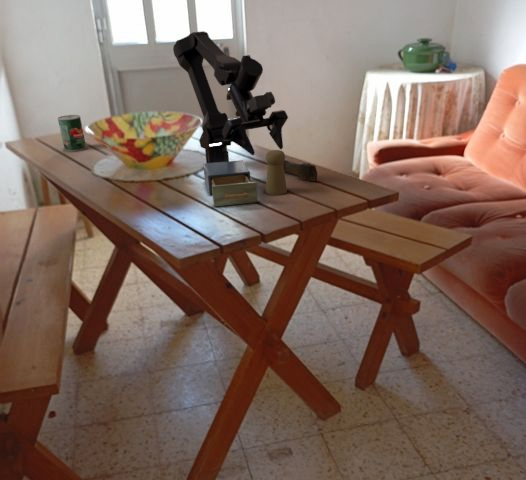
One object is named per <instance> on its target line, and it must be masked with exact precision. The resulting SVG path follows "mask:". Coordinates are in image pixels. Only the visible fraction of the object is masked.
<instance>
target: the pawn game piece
mask: <svg viewBox="0 0 526 480" xmlns="http://www.w3.org/2000/svg"><path fill="white" fill-rule="evenodd" d="M285 159H286V154H285V152H284V151H283V150H282V149H271V150H268V151H267V152H266V154H265V161H266V163H267V169H266V170H267V171H266V181H265V194H267V195H270V196H281V195H284V194H286V193H287V192H288V188H287V181H286V174H285V173H286V172H284V167H283V162H284V160H285Z"/></svg>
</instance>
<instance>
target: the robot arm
mask: <svg viewBox="0 0 526 480" xmlns="http://www.w3.org/2000/svg"><path fill="white" fill-rule="evenodd" d="M172 49H173V55H174V57H175V59H176V60H177V62H178V65H179V66H180V67H181V68H182V69H183V70H184V71H186V73H187V74H188V77H189V80H190V83H191V86H192V88H193V91H194V94H195V96H196V99H197V103H198V105H199V109H200V111H201V113H202V117H203V120H202V125H201V129H202V133H201V135H200V138H199V139H198V140H199V147H200V148H202V149H204V151H205V152H204V153H205V164H206V163H217V162H228V161H230V158H229V157H230V155H229V151H228V146H231V145H232V143H234V144H236V145H237V146H239V147H241V148H242V149H243V150H245V152H247V153H249V154H250V155H251V156H254V155H255V153H256V152H255V150H254V146H253V145H252V142H251V141H250V138H249V137H248V135H247V130H253V129H260V128H264V127H266V128H267V130H268V131H269V133H268V134H269V136H270V137H271V139H272V140H273V142H274V143H275V145H276V146H277V148H278V149H279V150H282V149H283V148H284V143H283V133H282V131H283V127H284V125H285V124H286V122H287V121H288V119H289V116H288V114H287V112H286V110H283V109H281V110H274V111H271V113H270V115H269V116H268V117H265V118H264V116H266V114H267V111H266V110H268V109H271V108H272V107H273V105H274V104H276V99H275V95H274V94H273V91H267V92H265V93H263V94H261V95H255V96H253V93H252V91H253V90H255V88H256V87H257V85H258V83H259V80H260V78H261V77H262V74H263V71H264V69H263V65H262V64H261V63H260V61H258V60H256V59H255V58H252V57H251V55H250V54H247V55H242V58H241V60H238V59H237V58H235V57H233V56H230V55H227V54H226V53H225V52H224V51H223V50H222V49H221V48H220V47H219V46H218V45H217V43H215V42H214V40H213V39H212V38H211V37H210V35H209V33H208V32H207V31H203V30H202V31H192V32H191V33H189V34H188V35H187V36H185V37H183V38H180V39H176V41H175V44H174V45H173V48H172ZM204 59H205V61H206V62H207V63H208V64H209V65H210V66H211V67H212V69H213V76H214V78H215V79H216V81H217V82H218V84H219V85H220V86H223V87H224V86H229V88H228V89H227V93H226V100H227V101H231V102H232V105H233V106H234V108H235V110H236V112H235V116H236V117H233V118H228V114H227V113H226V112H220V110H219V109H218V106H217V103H216V100H215V97H214V94H213V92H212V89H211V86H210V84H209V80H208V77H207V74H206V72H205V69H204V66H203V64H204V63H203V62H204Z"/></svg>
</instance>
